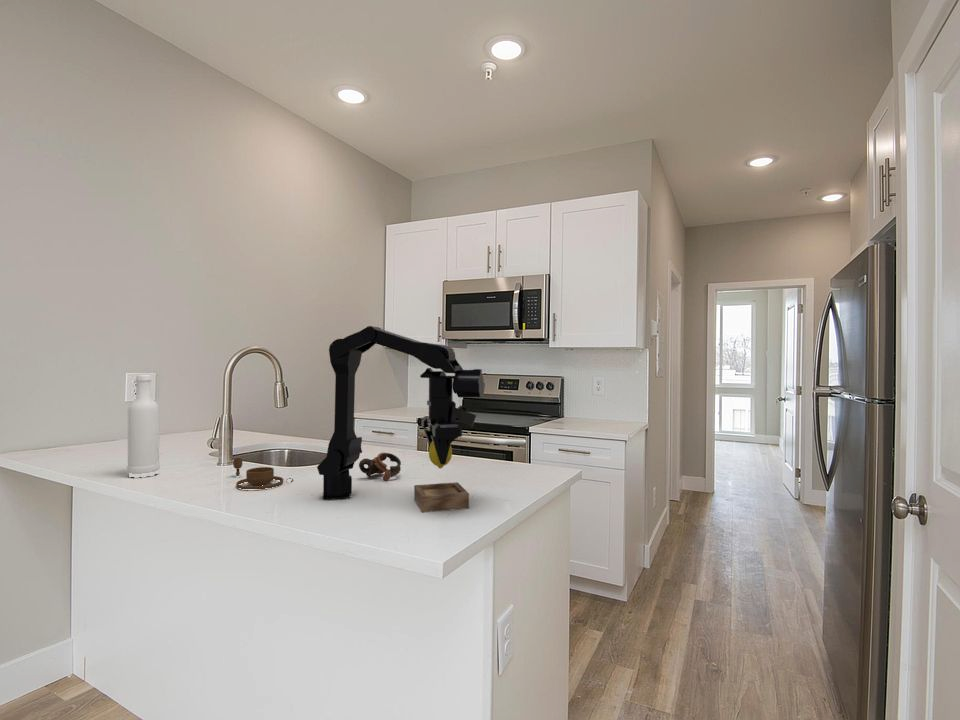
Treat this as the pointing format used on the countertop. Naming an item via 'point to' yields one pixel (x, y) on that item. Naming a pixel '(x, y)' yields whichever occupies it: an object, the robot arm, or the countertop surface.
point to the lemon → (434, 456)
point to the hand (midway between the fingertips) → (440, 461)
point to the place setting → (257, 476)
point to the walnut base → (441, 497)
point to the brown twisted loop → (380, 466)
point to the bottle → (143, 430)
